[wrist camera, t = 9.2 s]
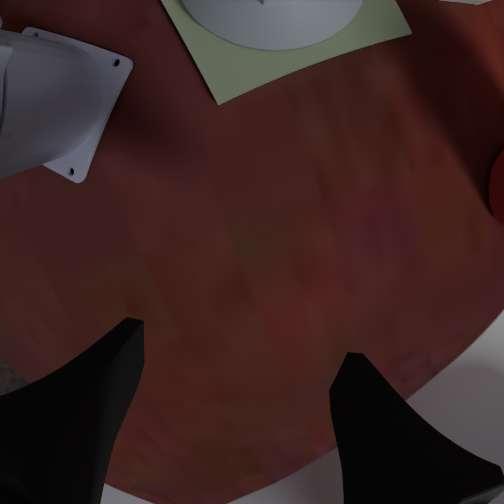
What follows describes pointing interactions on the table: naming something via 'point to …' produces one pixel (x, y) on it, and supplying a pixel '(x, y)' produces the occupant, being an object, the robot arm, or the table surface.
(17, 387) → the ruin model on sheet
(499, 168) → the beer can
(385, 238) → the table surface
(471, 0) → the bowl
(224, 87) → the mat
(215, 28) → the lid
